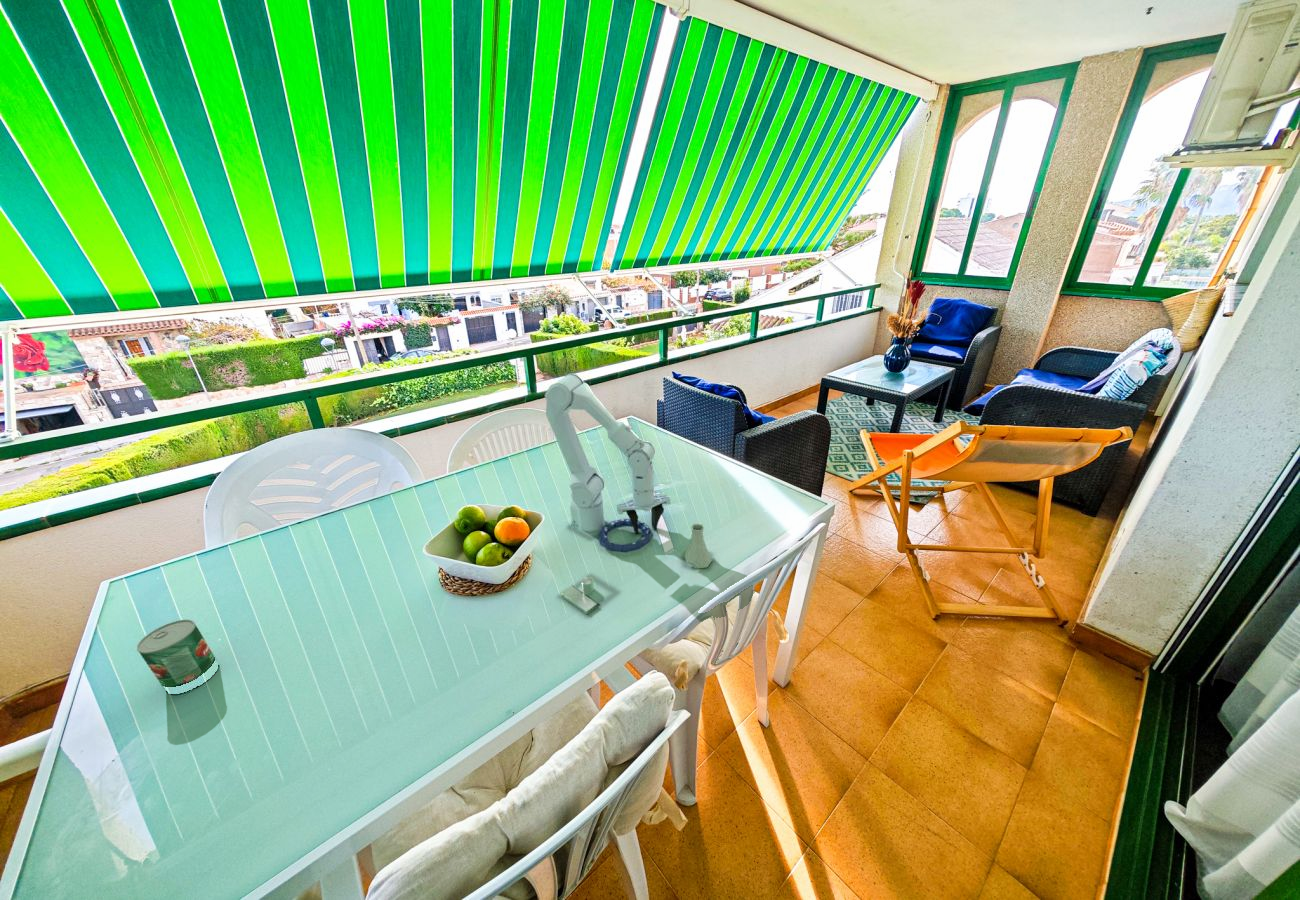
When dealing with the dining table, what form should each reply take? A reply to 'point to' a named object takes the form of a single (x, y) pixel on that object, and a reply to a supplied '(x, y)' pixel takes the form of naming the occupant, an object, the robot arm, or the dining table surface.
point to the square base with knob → (581, 596)
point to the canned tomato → (176, 653)
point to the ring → (624, 547)
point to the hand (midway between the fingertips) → (645, 530)
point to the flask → (697, 548)
